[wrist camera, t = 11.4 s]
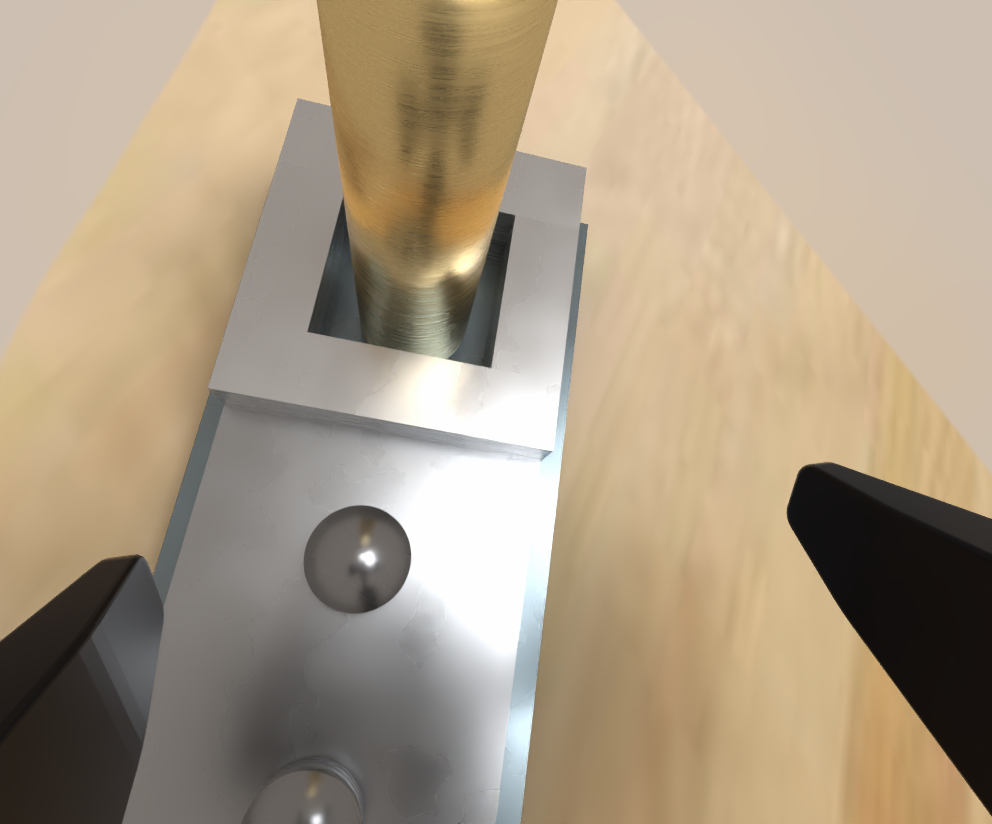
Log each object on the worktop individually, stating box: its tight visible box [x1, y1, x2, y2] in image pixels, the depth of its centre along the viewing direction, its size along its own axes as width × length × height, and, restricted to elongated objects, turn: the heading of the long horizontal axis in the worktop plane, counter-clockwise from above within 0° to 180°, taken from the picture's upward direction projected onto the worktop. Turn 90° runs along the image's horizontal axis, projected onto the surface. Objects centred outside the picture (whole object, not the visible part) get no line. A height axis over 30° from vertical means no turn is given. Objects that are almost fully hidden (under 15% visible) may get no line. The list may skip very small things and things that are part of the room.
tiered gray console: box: [122, 99, 588, 824], centre depth 17 cm, size 22×11×4 cm, turn 171°
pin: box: [317, 0, 558, 359], centre depth 14 cm, size 4×4×12 cm
